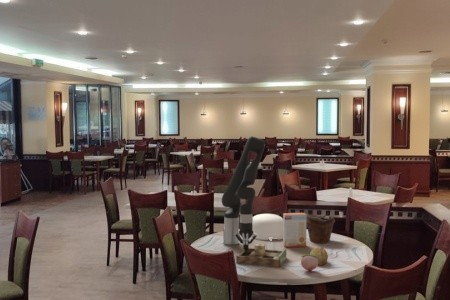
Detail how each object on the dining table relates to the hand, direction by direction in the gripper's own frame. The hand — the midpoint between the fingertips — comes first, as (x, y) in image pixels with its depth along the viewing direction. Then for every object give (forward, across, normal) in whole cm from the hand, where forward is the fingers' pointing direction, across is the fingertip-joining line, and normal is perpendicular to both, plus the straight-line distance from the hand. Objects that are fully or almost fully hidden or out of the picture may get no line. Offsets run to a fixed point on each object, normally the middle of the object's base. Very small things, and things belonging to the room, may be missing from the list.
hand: (246, 250), depth 291 cm
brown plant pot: (+4, +37, +52) cm, 63 cm away
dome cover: (+4, 0, +58) cm, 58 cm away
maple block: (+1, +8, 0) cm, 8 cm away
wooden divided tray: (+4, +10, -4) cm, 12 cm away
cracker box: (+4, +23, +34) cm, 41 cm away
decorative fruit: (+4, +39, -14) cm, 42 cm away
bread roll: (+4, +42, +4) cm, 42 cm away
